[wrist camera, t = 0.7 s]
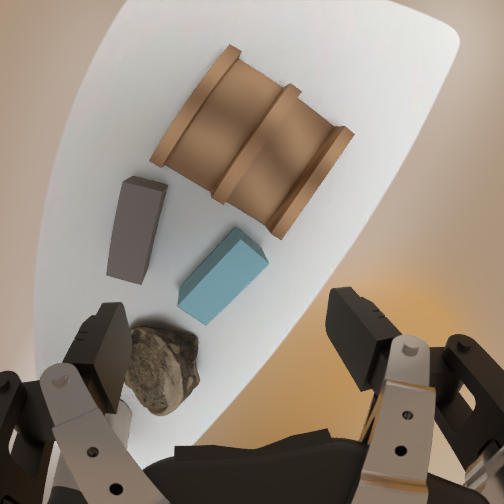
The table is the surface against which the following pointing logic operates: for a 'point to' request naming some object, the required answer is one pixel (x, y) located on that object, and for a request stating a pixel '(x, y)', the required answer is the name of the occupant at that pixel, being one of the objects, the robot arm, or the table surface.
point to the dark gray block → (135, 228)
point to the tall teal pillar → (221, 276)
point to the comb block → (252, 143)
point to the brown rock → (162, 368)
